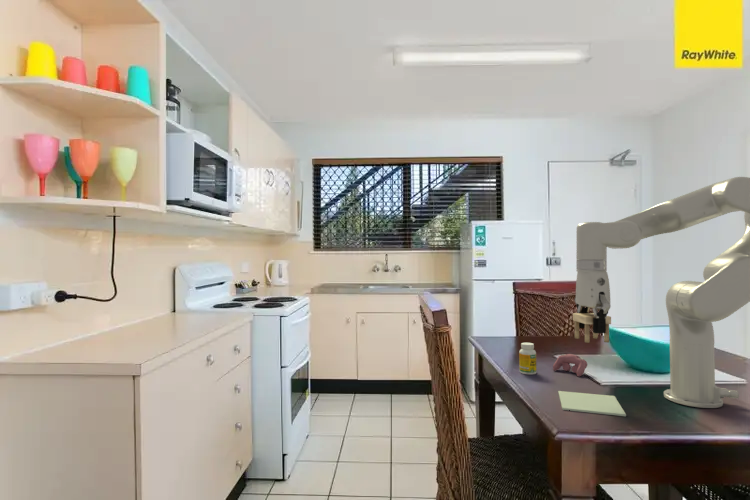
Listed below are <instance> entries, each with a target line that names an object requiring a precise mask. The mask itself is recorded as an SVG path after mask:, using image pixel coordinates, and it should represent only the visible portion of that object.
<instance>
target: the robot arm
mask: <svg viewBox="0 0 750 500" xmlns="http://www.w3.org/2000/svg"><path fill="white" fill-rule="evenodd" d="M735 212H736V213H737V212H743V213H744V218H743V219H744V223H745V231H744V233H743V235H742V237H741V238H740V239H738V240H736V242H735V243H734V244H732V245H731V246H730V247H728V248H727V249H726V250H724V251H723V252H722V253H720V254H719V255H718V256H716V257H715V258H713V259H711V260H710V261H709V262H708V263H707V264H706V265H705V267H704V269H703V271H702V275H703V280H704V281H703V282H702V281H695V280H694V281H693V280H684V281H679V282H676V283H674V284H672V285H671V286H670V287H669V289H668V290H667V292H666V296H665V306H666V311H667V312H666V313H667V317H668V318H667V319H668V327H669V370H670V371H669V375H670V376H669V377H670V378H669V379H670V380H669V381H670V382H669V383H670V388H669V389H668V388H667V389H665V390H664V391H663V397H664V398H665V399H667V400H668V401H671V402H673V403H675V404H680V405H683V406H688V407H693V408H694V407H695V408H701V409H717V408H721V407H723V406H724V400H723V399H724V398H730V399H739V398H740V393H739V391H738V390H736V389H735V390H734V389H728V388H725V387H719V386H718V385H717V384H716V377H715V376H716V372H715V371H716V369H715V368H716V367H715V331H714V326H713V322H719V321H721V320H724V319H726V318H728V317H730V316H731V315H733V314H734V313H735V312H736V313H737V311H739V310H741V308H742V307H744V306H746V305H747V304H748V303H750V177H747V176H736V177H732V178H728V179H725V180H721V181H717V182H715V183H712V184H709V185H707V186H704V187H701V188H699V189H696V190H694V191H693V190H692V191H690V192H687V193H685V194H682V195H680V196H677V197H674V198H672V199H668V200H667V201H666V200H665V201H664V202H661V203H659V204H656V205H654V206H652V207H650V208H647V209H645V210H643V211H640V212H637V213H635V214H632V215H629V216H625V217H624V218H621V219H618V220H616V221H611V222H610V221H609V222H600V221H586V222H581V223H578V224H577V226H576V254H575V255H576V265H575V267H576V269H575V270H576V272H577V273H576V282H575V298H574V302H575V305H576V313H589V312H590V309H592V313H594V316H595V318H593V324H592V334H593V333H598V334H604V333H605V332H606V318H607V316H608V314H609V311H610V309H611V307H612V306H611V287H610V278H609V274H608V272H607V269H608V267H607V266H608V262H607V259H608V258H607V257H608V256H607V255H608V252H607V250H608V249H612V250H614V249H615V250H616V249H620V250H621V249H630V248H633V247H635V246H636V245H638V244H639V243H640V241H642V240H644V239H647V238H651V237H654V236H658V235H663V234H668V233H669V234H670V233H675V232H679V231H681V230H685V229H688V228H691V227H693V226H696V225H699V224H702V223H704V222H708V221H710V220H713V219H715V218H718V217H721V216H724V215H727V214H730V213H735ZM607 248H608V249H607ZM579 329H585V324H583V323H580V322H579Z"/></svg>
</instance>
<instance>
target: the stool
mask: <svg viewBox="0 0 750 500" xmlns="http://www.w3.org/2000/svg"><path fill="white" fill-rule="evenodd" d="M593 318H595V316H594V313H593V312H590V313H589V312H588V313H577V312H573V313H572V321H574V339H577V340H578V339H580V328H579V322H580V323H583V324H585V328H584V343H587V344H588V343H590V339H591V338H590V334H591V333H590V332H591V331H590V330H591V329H590V327H591V325H593ZM611 324H612V316H609V315H607V318H606V332H605V333H603V342H604V343H610V325H611ZM592 338H593V339H599V333H593V332H592Z"/></svg>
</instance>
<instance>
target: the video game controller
mask: <svg viewBox="0 0 750 500" xmlns="http://www.w3.org/2000/svg"><path fill="white" fill-rule="evenodd" d="M570 364H572V366H571V365H570ZM561 367H562V369H563V371H565V372H569V371H572V372H573V373H575V374H576V375H577V377H581V376H583V374H584V373H585V371H586V369H587V367H588V362H587V361H586V360H585V359H584V358H583V357H581V356H579V355H577V354H576V355H575V354H572V353H567V354H564V353H562V354H561V355H559V356H558V357H557V358H556V360H555V362H554V363H553V365H552V369H553V371H554V372H556V371H558V370H559V369H560V368H561Z"/></svg>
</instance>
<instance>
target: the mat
mask: <svg viewBox="0 0 750 500" xmlns="http://www.w3.org/2000/svg"><path fill="white" fill-rule="evenodd" d="M557 392H558V397H559V401H560V405H561V409H562V411H569V410H570V411H571V412H579V413H588V414H589V413H591V414H601V415H607V416H608V415H610V416H618V417H627V414H626V412H625V410H624V409H623V408H622V405H621V404H620V403H619V401H618V400H617V397H616V396H615V395H608V394H607V395H606V394H594V393H588V392H587V393H585V392H575V391H566V390H565V391H563V390H562V391H561V390H558V391H557ZM570 411H569V412H570Z"/></svg>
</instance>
